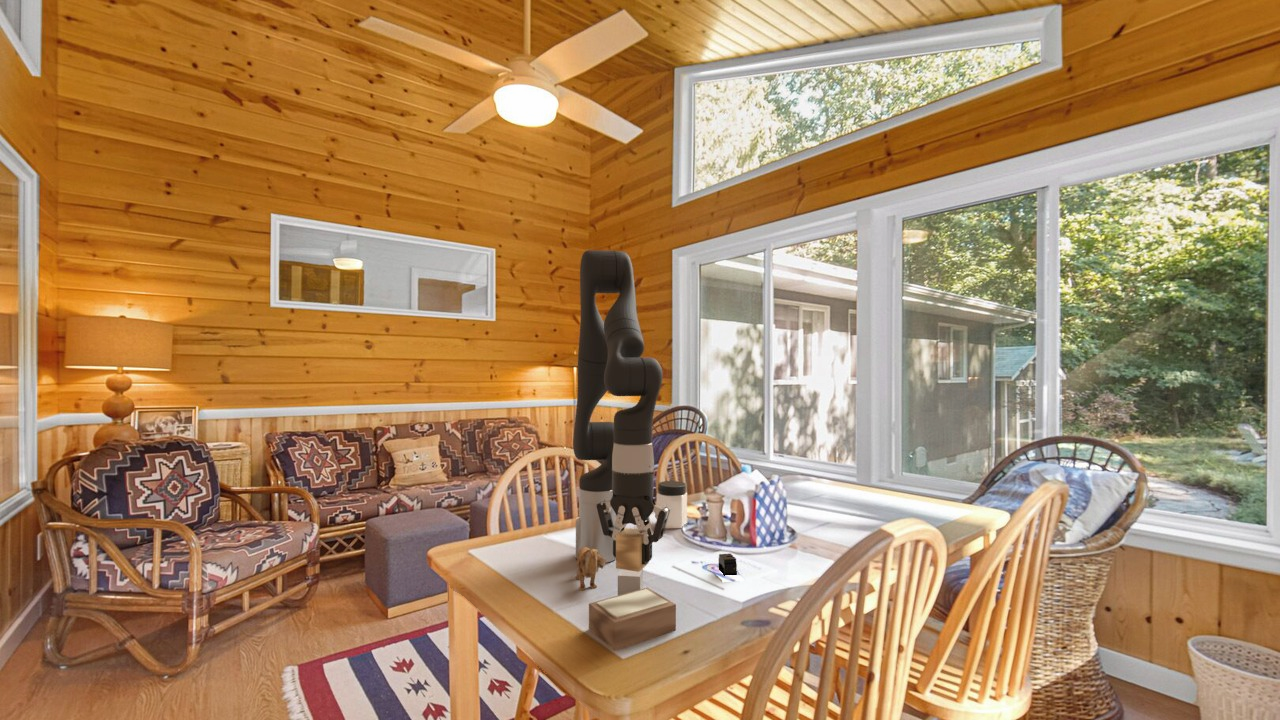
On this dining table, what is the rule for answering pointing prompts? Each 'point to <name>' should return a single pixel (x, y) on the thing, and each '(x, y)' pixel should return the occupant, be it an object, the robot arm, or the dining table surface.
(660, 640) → the dining table surface
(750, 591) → the dining table surface
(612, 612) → the plinth
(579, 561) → the lion figurine
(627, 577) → the grey block
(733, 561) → the black block
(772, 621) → the dining table surface
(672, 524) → the jar
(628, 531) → the oak block
